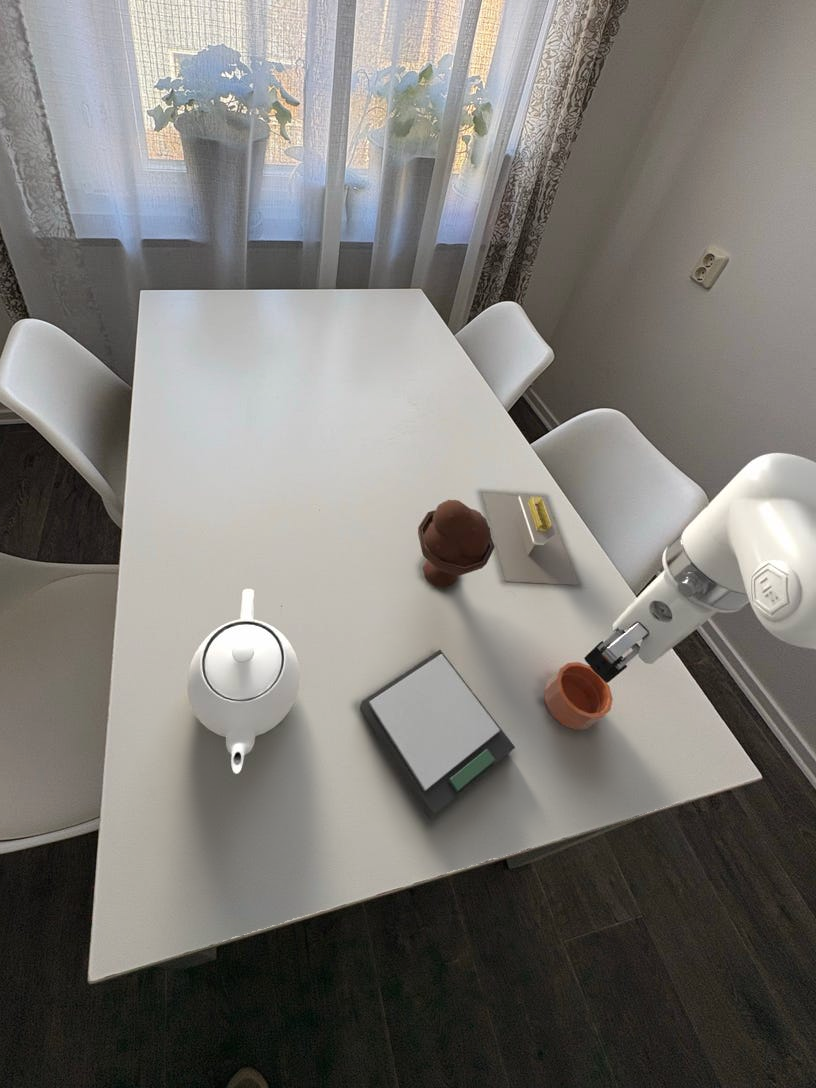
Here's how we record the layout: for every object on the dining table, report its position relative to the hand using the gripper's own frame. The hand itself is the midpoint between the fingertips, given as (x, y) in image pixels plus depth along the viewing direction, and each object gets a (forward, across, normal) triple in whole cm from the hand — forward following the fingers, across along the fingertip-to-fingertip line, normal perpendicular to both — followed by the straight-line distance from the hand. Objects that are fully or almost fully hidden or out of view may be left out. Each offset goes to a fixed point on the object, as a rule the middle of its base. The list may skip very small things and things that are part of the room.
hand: (622, 648), depth 61 cm
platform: (+15, +15, +22) cm, 30 cm away
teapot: (+15, -37, +22) cm, 46 cm away
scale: (+15, -19, +6) cm, 25 cm away
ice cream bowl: (+15, -3, +23) cm, 28 cm away
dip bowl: (+15, -1, -1) cm, 15 cm away
